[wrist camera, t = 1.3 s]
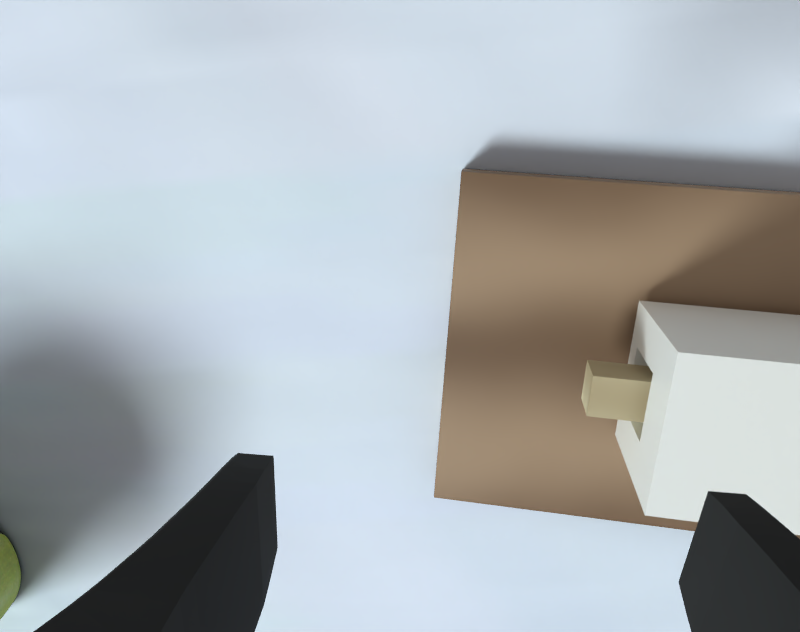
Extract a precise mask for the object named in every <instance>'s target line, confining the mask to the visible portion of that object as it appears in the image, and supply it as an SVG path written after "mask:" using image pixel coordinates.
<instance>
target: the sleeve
mask: <svg viewBox="0 0 800 632" xmlns="http://www.w3.org/2000/svg"><path fill="white" fill-rule="evenodd" d="M628 364H633V365H642V366H649V368H650V370H651V371H652V373H653V376H652V381H651V386H650V391H649V396H648V402H647V407H646V412H645V417H644V422H634V421H625V420H618V421H617V427H616V432H615V436H616V438H617V441H618V444H619V447H620V449H621V452H622V455H623V457H624V460H625V463H626V466H627V468H628V471H629V474H630V476H631V479H632V482H633V485H634V487H635V490H636V493H637V495H638V498H639V501H640V504H641V506H642V509H643V512H644V514H645V516H653V517H661V518H669V519H676V520H684V521H692V522H698V521H699V518H700V515H701V512H702V508H703V505H704V502H705V499H706V496H707V493H708V491H714V492H726V493H739V494H747V495H748V496H749V497H750V498H752V499H753V500H754V501H756V502H757V503H758V504H759V505H760V506H762V507H763V508H764V509H765V510H766V511H768V512H769V513H770V514H771V515H772V516H774V517H775V518H776V519H777V520H778V521H779V522H781V523H782V524H783V525H784V526H785V527H786V528H788V529H789V530H790V531H791V532H792V533H793V534H794V535H800V315H792V314H782V313H771V312H760V311H749V310H738V309H727V308H716V307H705V306H694V305H683V304H672V303H661V302H650V301H639V304H638V309H637V315H636V320H635V326H634V332H633V337H632V343H631V348H630V354H629V360H628Z"/></svg>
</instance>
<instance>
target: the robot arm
mask: <svg viewBox="0 0 800 632" xmlns="http://www.w3.org/2000/svg"><path fill="white" fill-rule="evenodd" d="M276 552H277V525H276V503H275V481H274V458H273V456H267V455H255V454H242V453H237V454H236V455H235V456H234V457H232V458H231V459H230V460H229V461H228V462H227V463H226V464H225V465H224V466H223V467H222V468H221V469H220V470H219V471H218V472H217V473H216V474H215V475H214V477H213V478H212V479H211V480H210V481H209V482H208V483H207V484H206V485H205V486H204V487H203V488H202V489H201V490H200V491H199V492H198V493H197V494H196V495H195V496H194V497H193V498H192V499H191V500H190V501H189V502H188V503H187V504H186V505H184V506H183V507H182V508H181V509H180V510H179V511H178V512H177V513H176V514H175V515H174V516H173V517H172V518H171V519H170V520H169V521H168V522H167V523H165V524H164V525H163V526H162V527H161V528H160V529H159V530H158V531H157V532H156V533H155V534H154V535H153V536H152V537H151V538H149V539H148V540H147V541H146V542H145V543H144V544H143V545H142V546H141V547H139V548H138V549H137V550H136V551H135V552H134V553H132V554H131V555H130V556H129V557H128V558H127V559H125V560H124V561H123V562H122V563H121V564H120V565H118V566H117V567H116V568H115V569H114V570H113V571H111V572H110V573H109V574H108V575H107V576H106V577H104V578H103V579H102V580H101V581H100V582H98V583H97V584H96V585H95V586H93V587H92V588H91V589H90V590H88V591H87V592H86V593H85V594H83V595H82V596H81V597H80V598H78V599H77V600H76V601H74V602H73V603H72V604H70V605H69V606H68V607H67V608H65V609H64V610H62V611H61V612H60V613H58V614H57V615H56V616H54V617H53V618H52V619H50V620H49V621H48V622H46V623H45V624H44V625H42V626H41V627H39V628H38V629H37V630H35V631H34V632H254V631H255V629H256V626H257V623H258V620H259V617H260V615H261V612H262V609H263V606H264V602H265V598H266V594H267V590H268V586H269V582H270V578H271V573H272V569H273V565H274V560H275V556H276ZM679 585H680V589H681V593H682V597H683V601H684V605H685V609H686V613H687V617H688V621H689V624H690V628H691V632H800V539H799V538H798V537H797V536H796V535H794V534H793V533H792V532H791V531H790V530H789V529H788V528H786V527H785V526H784V525H783V524H782V523H781V522H779V521H778V520H777V519H776V518H775V517H774V516H772V515H771V514H770V513H769V512H768V511H766V510H765V509H764V508H763V507H762V506H760V505H759V504H758V503H757V502H756V501H754V500H753V499H752V498H750V497H749V496H748V495H747V494H739V493H726V492H714V491H708V493H707V496H706V499H705V502H704V505H703V508H702V512H701V515H700V518H699V521H698V524H697V527H696V530H695V533H694V536H693V539H692V542H691V546H690V549H689V552H688V555H687V558H686V561H685V564H684V567H683V570H682V573H681V576H680V580H679Z"/></svg>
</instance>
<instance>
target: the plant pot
mask: <svg viewBox="0 0 800 632" xmlns="http://www.w3.org/2000/svg"><path fill="white" fill-rule="evenodd" d="M20 581H21V570H20V566H19V561H18V558H17V555H16V552H15V550H14V548H13V546H12V544H11V543H10V541H9V539H8V538H7V537H6V536H5V535H3V534H1V533H0V619H1V618H2V617H3V615H4V614H5V613H6V611H7V610H8V609H9V607H10V606H11V605H12V603H13V602H14V600H15V598H16V596H17V594H18V591H19V588H20Z"/></svg>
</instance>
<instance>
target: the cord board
mask: <svg viewBox="0 0 800 632" xmlns="http://www.w3.org/2000/svg"><path fill="white" fill-rule="evenodd" d="M639 301H650V302H661V303H672V304H683V305H694V306H705V307H716V308H727V309H738V310H749V311H760V312H771V313H782V314H792V315H800V192H788V191H774V190H759V189H745V188H731V187H717V186H703V185H689V184H675V183H660V182H646V181H632V180H618V179H604V178H590V177H575V176H561V175H547V174H533V173H519V172H505V171H490V170H476V169H463V170H462V172H461V184H460V196H459V208H458V220H457V231H456V243H455V255H454V267H453V279H452V290H451V302H450V314H449V326H448V338H447V349H446V361H445V373H444V385H443V397H442V408H441V420H440V432H439V444H438V455H437V467H436V479H435V491H434V497H436V498H443V499H451V500H459V501H467V502H474V503H482V504H490V505H497V506H505V507H513V508H520V509H528V510H536V511H543V512H551V513H559V514H567V515H574V516H582V517H590V518H597V519H605V520H613V521H620V522H628V523H636V524H644V525H651V526H659V527H667V528H674V529H682V530H690V531H695V530H696V527H697V524H698V522H692V521H684V520H676V519H669V518H661V517H653V516H645V514H644V512H643V509H642V506H641V504H640V501H639V498H638V495H637V493H636V490H635V487H634V485H633V482H632V479H631V476H630V474H629V471H628V468H627V466H626V463H625V460H624V457H623V455H622V452H621V449H620V447H619V444H618V441H617V438H616V436H615V432H616V427H617V421H618V420H625V421H634V422H644V417H645V412H646V407H647V402H648V396H649V391H650V386H651V381H652V376H653V373H652V371H651V370H650V368H649V366H642V365H633V364H628V360H629V354H630V348H631V343H632V337H633V332H634V326H635V320H636V315H637V309H638V304H639ZM796 536H797V537H798V538H799V539H800V535H796Z"/></svg>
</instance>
